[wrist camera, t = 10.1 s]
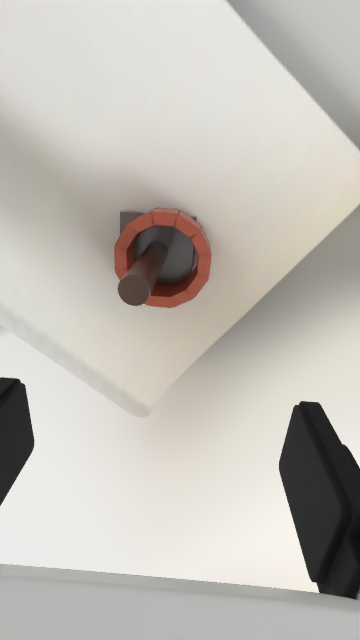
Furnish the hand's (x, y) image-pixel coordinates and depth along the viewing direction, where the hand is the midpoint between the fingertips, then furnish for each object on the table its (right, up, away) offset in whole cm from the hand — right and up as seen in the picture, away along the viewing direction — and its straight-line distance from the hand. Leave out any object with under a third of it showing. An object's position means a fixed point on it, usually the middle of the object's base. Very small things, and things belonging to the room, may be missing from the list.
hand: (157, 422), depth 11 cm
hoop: (-1, +11, +24) cm, 26 cm away
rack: (-2, +11, +25) cm, 27 cm away
